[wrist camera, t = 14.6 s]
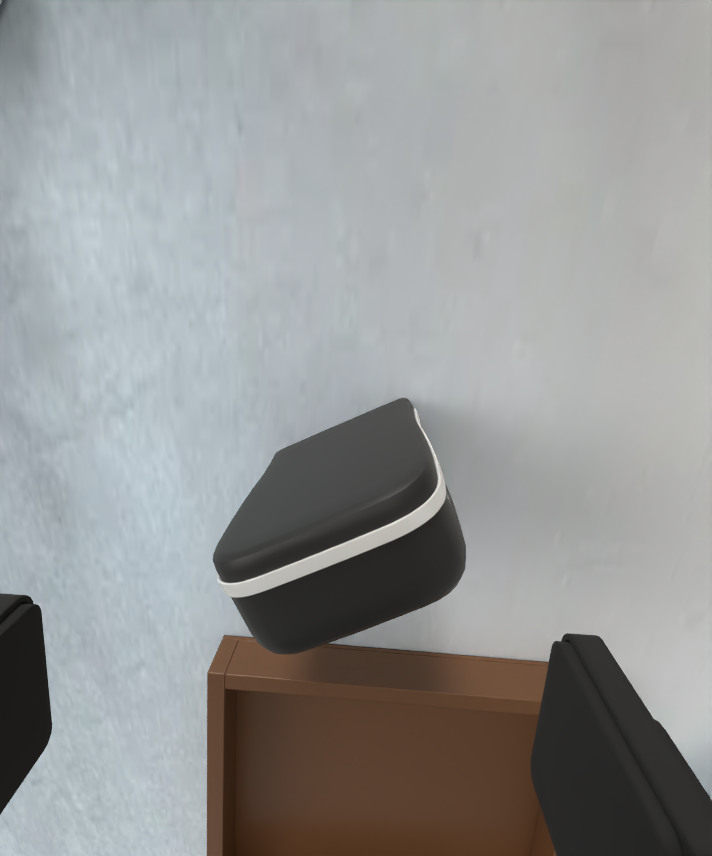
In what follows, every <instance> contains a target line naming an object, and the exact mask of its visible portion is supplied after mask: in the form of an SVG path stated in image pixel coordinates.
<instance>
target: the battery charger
mask: <svg viewBox="0 0 712 856" xmlns="http://www.w3.org/2000/svg"><path fill="white" fill-rule="evenodd" d="M213 562H214V565H215V567H216V570H217V572H218V574H217V580H218V582H219V584H220V586H221V588H222V589H223V591H224V593H225V594H226V595H227V596H229V597H231V598H232V600H233V601H234V603H235V605H236V607H237V609H238V610H239V612H240V614H241V616H242V618H243V619H244V621H245V623H246V625H247V627H248V629H249V630H250V632H251V634H252V635H253V636H254V638H255V639H256V641H257V642H258V643H259V645H261V646H262V647H264V648H265V649H267V650H269V651H271V652H273V653H275V654H286V655H287V654H297V653H300V652H303V651H307V650H310V649H313V648H316V647H318V646H321V645H324V644H327V643H330V642H332V641H335V640H338V639H341V638H343V637H346V636H349V635H352V634H355V633H357V632H360V631H363V630H366V629H368V628H371V627H373V626H376V625H379V624H381V623H384V622H386V621H389V620H391V619H394V618H397V617H399V616H402V615H404V614H407V613H409V612H412V611H414V610H417V609H420V608H422V607H425V606H427V605H429V604H431V603H433V602H436V601H438V600H439V599H441V598H443V597H444V596H446V595H447V594H449V593H450V592H451V591H452V590H453V589H454V588H455V587H456V586H457V584H458V582H459V580H460V579H461V577H462V574H463V572H464V570H465V562H466V545H465V541H464V537H463V534H462V530H461V526H460V523H459V520H458V516H457V513H456V510H455V507H454V504H453V501H452V498H451V496H450V493H449V491H448V489H447V486H446V484H445V482H444V478H443V474H442V470H441V467H440V464H439V462H438V459H437V457H436V454H435V452H434V450H433V447H432V445H431V443H430V441H429V439H428V438H427V436H426V434H425V432H424V431H423V429H422V427H421V424H420V419H419V415H418V413H417V410H416V409H415V408H413V406H412V404H411V402H410V401H409V400H408V399H406V398H401V399H398V400H396V401H393V402H391V403H388V404H386V405H384V406H381V407H379V408H377V409H374V410H372V411H370V412H367V413H365V414H362V415H360V416H358V417H355V418H353V419H351V420H348V421H346V422H344V423H341V424H339V425H337V426H335V427H332V428H330V429H328V430H325V431H323V432H321V433H318V434H316V435H314V436H311V437H309V438H307V439H305V440H302V441H300V442H298V443H295V444H293V445H291V446H289V447H286V448H284V449H282V450H280V451H278V452H276V454H275V456H274V458H273V459H272V461H271V463H270V465H269V466H268V468H267V470H266V471H265V473H264V474H263V476H262V477H261V478H260V480H259V481H258V482H257V484H256V485H255V487H254V488H253V489H252V491H251V492H250V494H249V495H248V497H247V498H246V500H245V501H244V502H243V504H242V505H241V507H240V508H239V510H238V511H237V513H236V515H235V516H234V518H233V519H232V521H231V522H230V524H229V526H228V527H227V529H226V531H225V533H224V534H223V536H222V538H221V540H220V541H219V543H218V545H217V547H216V549H215V552H214V555H213Z"/></svg>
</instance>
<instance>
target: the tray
mask: <svg viewBox="0 0 712 856" xmlns="http://www.w3.org/2000/svg"><path fill="white" fill-rule="evenodd" d="M548 664H549V662H537V661H525V660H513V659H501V658H489V657H477V656H465V655H454V654H442V653H430V652H418V651H406V650H394V649H382V648H370V647H358V646H346V645H334V644H324V645H321V646H318V647H316V648H313V649H310V650H307V651H303V652H300V653H297V654H287V655H286V654H275V653H273V652H271V651H269V650H267V649H265V648H264V647H262V646H261V645H259V643H258V642H257V641H256V639H255V638H250V637H238V636H226V635H224V637H223V640H222V641H221V644H220V646H219V648H218V650H217V653H216V655H215V657H214V659H213V662H212V664H211V666H210V668H209V671H208V681H207V856H557V855H556V852H555V849H554V846H553V843H552V840H551V837H550V834H549V831H548V828H547V825H546V822H545V819H544V816H543V813H542V810H541V807H540V804H539V801H538V798H537V794H536V791H535V788H534V785H533V782H532V777H531V755H532V750H533V744H534V739H535V734H536V728H537V723H538V718H539V712H540V707H541V702H542V696H543V691H544V686H545V680H546V675H547V670H548Z"/></svg>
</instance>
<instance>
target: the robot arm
mask: <svg viewBox="0 0 712 856" xmlns="http://www.w3.org/2000/svg"><path fill="white" fill-rule="evenodd" d="M0 4H1V0H0ZM51 730H52V720H51V709H50V699H49V688H48V677H47V667H46V656H45V645H44V635H43V624H42V613H41V608H40V607H39V606H38V605H36V604H33V601H32V599H31V597H29V596H27V595H13V594H0V814H1V813H2V811H3V810H4V808H5V807H6V805H7V804H8V802H9V801H10V799H11V798H12V796H13V795H14V793H15V792H16V791H17V789H18V788H19V786H20V785H21V783H22V782H23V780H24V779H25V777H26V776H27V774H28V773H29V771H30V770H31V769H32V767H33V766H34V764H35V763H36V761H37V760H38V758H39V757H40V755H41V754H42V752H43V751H44V749H45V748H46V746H47V744H48V741H49V739H50V735H51ZM531 777H532V782H533V785H534V788H535V791H536V794H537V798H538V801H539V804H540V807H541V810H542V813H543V816H544V819H545V822H546V825H547V828H548V831H549V834H550V837H551V840H552V843H553V846H554V849H555V852H556V855H557V856H712V800H711V798H710V797H709V795H708V794H707V792H706V791H705V789H704V788H703V786H702V785H701V783H700V782H699V780H698V779H697V777H696V776H695V774H694V773H693V771H692V770H691V768H690V767H689V765H688V764H687V762H686V761H685V759H684V758H683V756H682V754H681V753H680V751H679V750H678V748H677V747H676V745H675V744H674V742H673V741H672V739H671V738H670V736H669V735H668V733H667V732H666V730H665V729H664V728H663V727H662V725H661V724H660V723H659V722H658V721H656V720H654V719H653V717H652V716H651V714H650V713H649V711H648V710H647V708H646V707H645V705H644V703H643V702H642V700H641V699H640V697H639V696H638V694H637V693H636V691H635V690H634V688H633V686H632V685H631V683H630V682H629V680H628V679H627V677H626V676H625V674H624V673H623V671H622V670H621V668H620V666H619V665H618V663H617V662H616V660H615V659H614V657H613V656H612V654H611V653H610V651H609V649H608V648H607V646H606V645H605V643H604V642H603V640H602V639H601V638H600V637H599V636H595V635H581V634H565V635H564V636H563V638H562V641H555V642H554V643H553V645H552V649H551V654H550V659H549V664H548V670H547V675H546V680H545V686H544V691H543V696H542V702H541V707H540V712H539V718H538V723H537V728H536V734H535V739H534V744H533V750H532V755H531Z"/></svg>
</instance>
